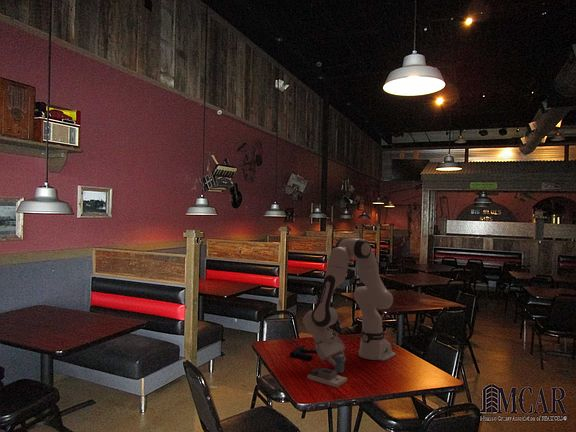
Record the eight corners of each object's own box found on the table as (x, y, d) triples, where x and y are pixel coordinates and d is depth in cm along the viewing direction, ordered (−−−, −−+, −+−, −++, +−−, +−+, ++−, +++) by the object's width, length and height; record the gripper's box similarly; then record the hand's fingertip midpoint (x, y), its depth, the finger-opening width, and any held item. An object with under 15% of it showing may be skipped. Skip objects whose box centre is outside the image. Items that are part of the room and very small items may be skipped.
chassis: (307, 378, 193) (307, 370, 193) (318, 372, 201) (318, 364, 201) (336, 387, 183) (336, 378, 183) (347, 381, 191) (347, 372, 191)
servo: (332, 370, 204) (332, 353, 205) (335, 369, 207) (336, 352, 207) (342, 373, 201) (343, 356, 201) (345, 372, 203) (346, 355, 204)
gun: (324, 351, 240) (301, 348, 245) (325, 347, 240) (301, 343, 245) (313, 362, 217) (287, 358, 223) (313, 357, 218) (287, 352, 223)
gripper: (316, 339, 200) (333, 364, 194) (337, 332, 217) (353, 354, 210) (309, 347, 203) (325, 371, 197) (330, 338, 219) (345, 361, 213)
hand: (340, 362), depth 204 cm, fingers open, 8 cm apart
